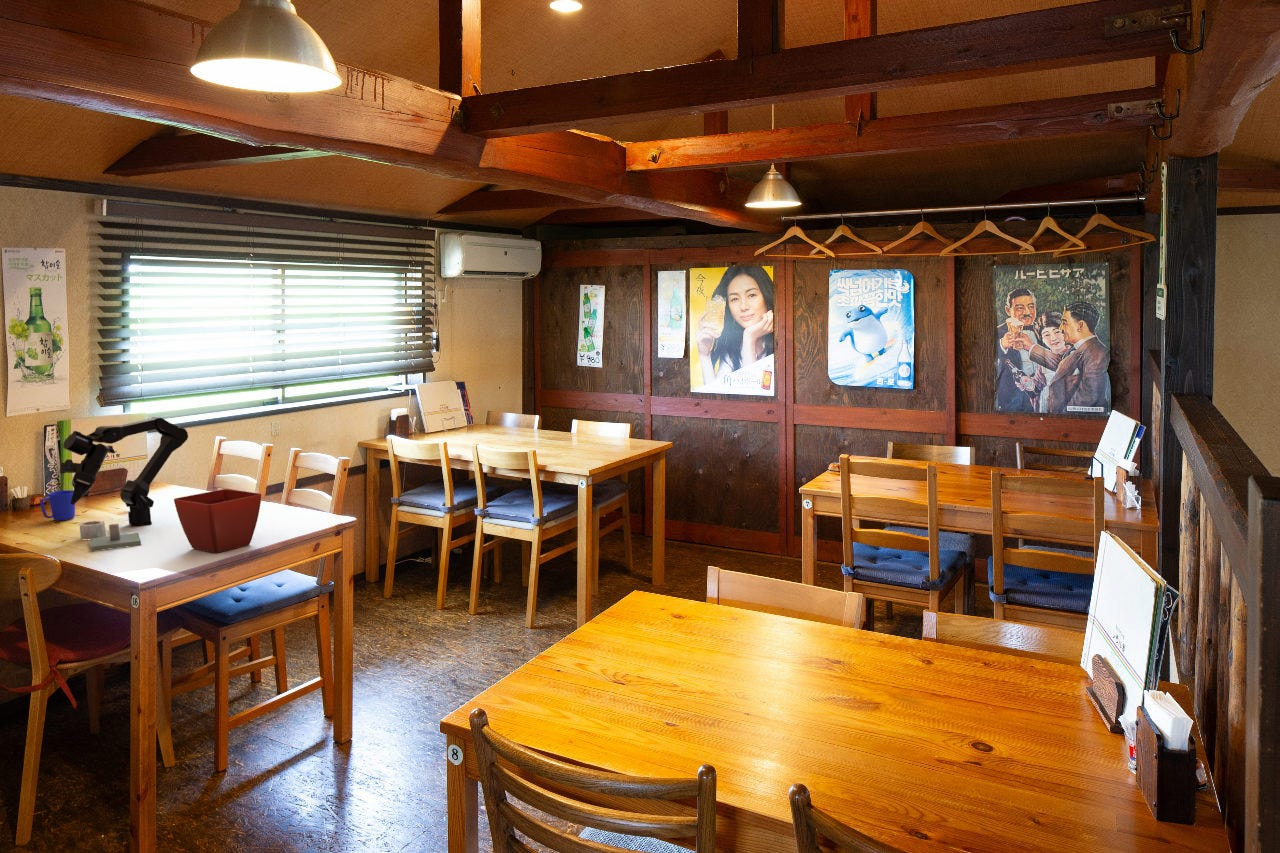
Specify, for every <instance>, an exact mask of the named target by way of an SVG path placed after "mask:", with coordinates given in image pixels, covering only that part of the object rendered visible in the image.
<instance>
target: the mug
mask: <svg viewBox="0 0 1280 853" xmlns="http://www.w3.org/2000/svg"><path fill="white" fill-rule="evenodd" d="M73 491H74V490H71V489H70V490H69V489H68V490H57V491H52V492H49V493H48V497H44V498H43V497H42V498H40V499H39V503H40V504H39V505H40V508H41V512H42V515H43V517H44V518H46V519H52V518H53V520H54V521H57V520H63V521H68V519H69V520H72V519H74V518H75V517H76V503H75V504H74V505H72V504H70V503H71V499H72V495H73ZM46 500H47V501H48V500H49V505H50V510H51V514H52V515H50V516H48V514H47V511H46V509H45V504H44V502H45V501H46Z"/></svg>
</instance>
